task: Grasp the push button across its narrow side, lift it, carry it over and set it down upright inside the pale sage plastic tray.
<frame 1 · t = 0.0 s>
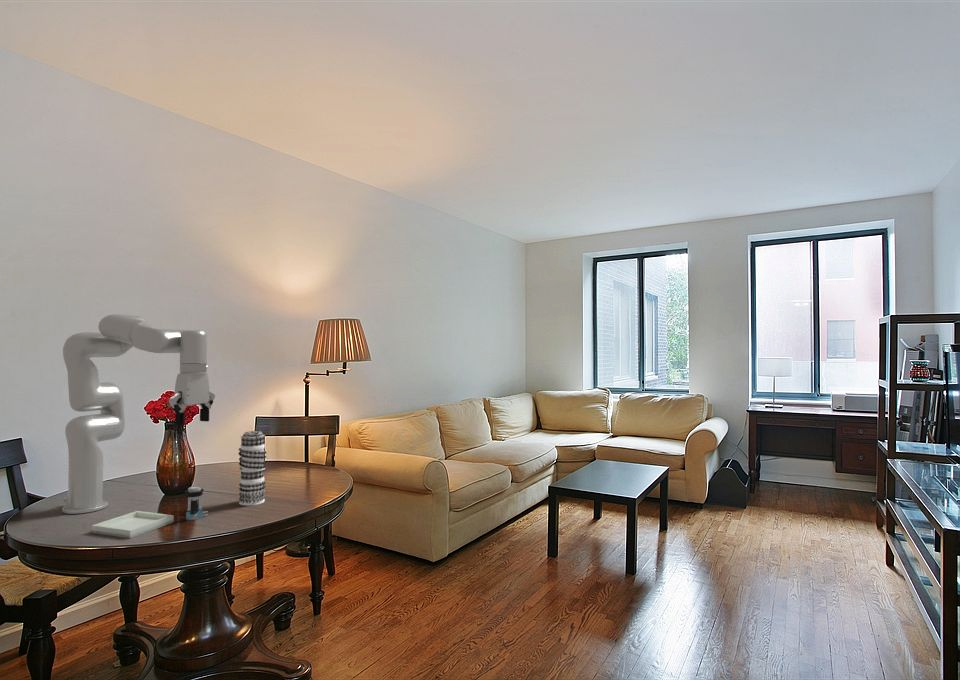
hand: (192, 423, 172), 31 cm above the table, fingers open, 9 cm apart
decorative candle: (251, 502, 193), on the table
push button: (196, 518, 175), on the table
tray: (133, 527, 166), on the table
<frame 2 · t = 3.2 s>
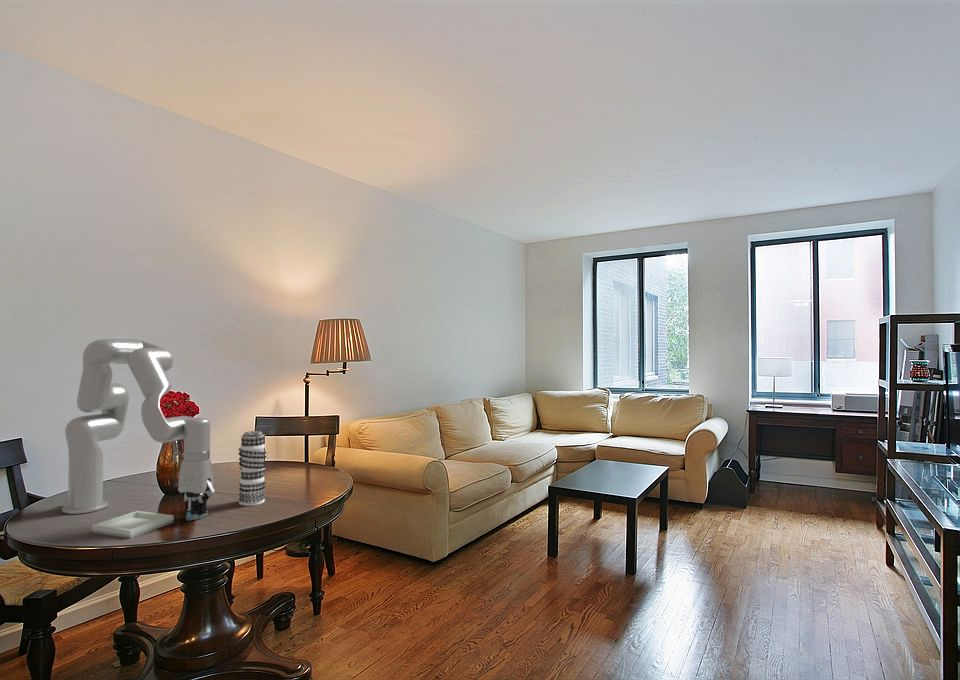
hand: (196, 512, 175), 2 cm above the table, fingers closed on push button, 3 cm apart
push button: (196, 518, 175), on the table, touching gripper
everything else where it was.
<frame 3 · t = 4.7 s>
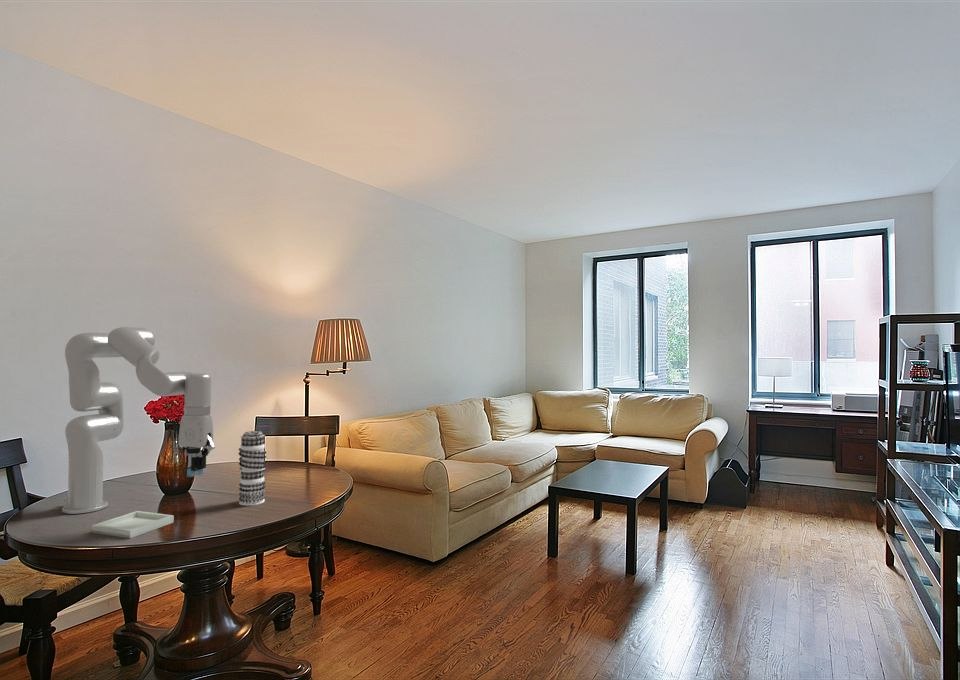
hand: (195, 467, 175), 16 cm above the table, fingers closed on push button, 3 cm apart
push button: (196, 475, 175), point 14 cm above the table, touching gripper
everything else where it was.
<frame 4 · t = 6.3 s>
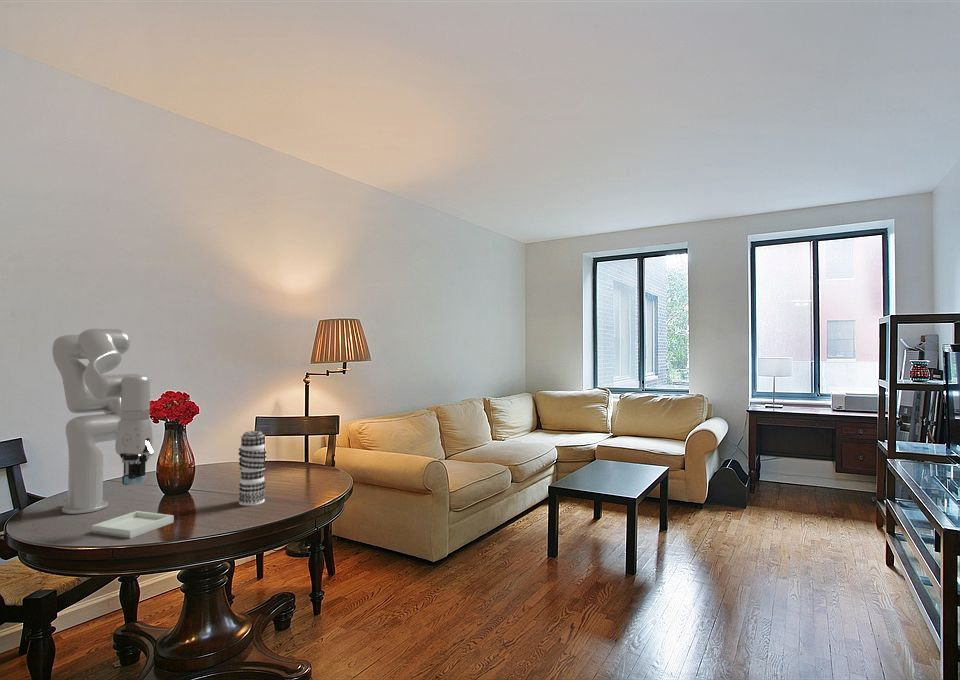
hand: (134, 475, 166), 16 cm above the table, fingers closed on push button, 3 cm apart
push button: (134, 483, 166), point 13 cm above the table, touching gripper
everything else where it was.
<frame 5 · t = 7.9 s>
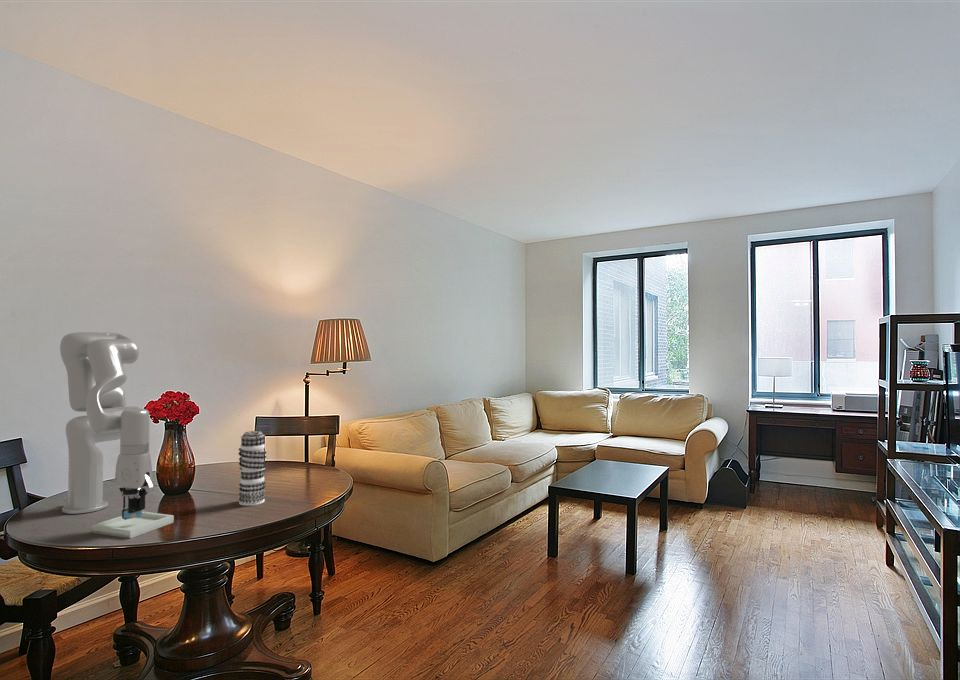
hand: (134, 509, 166), 6 cm above the table, fingers closed on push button, 3 cm apart
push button: (134, 517, 165), point 3 cm above the table, touching gripper
everything else where it was.
when the fingers open (4 cm above the table, at t = 9.0 s): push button stays where it is, resting on tray.
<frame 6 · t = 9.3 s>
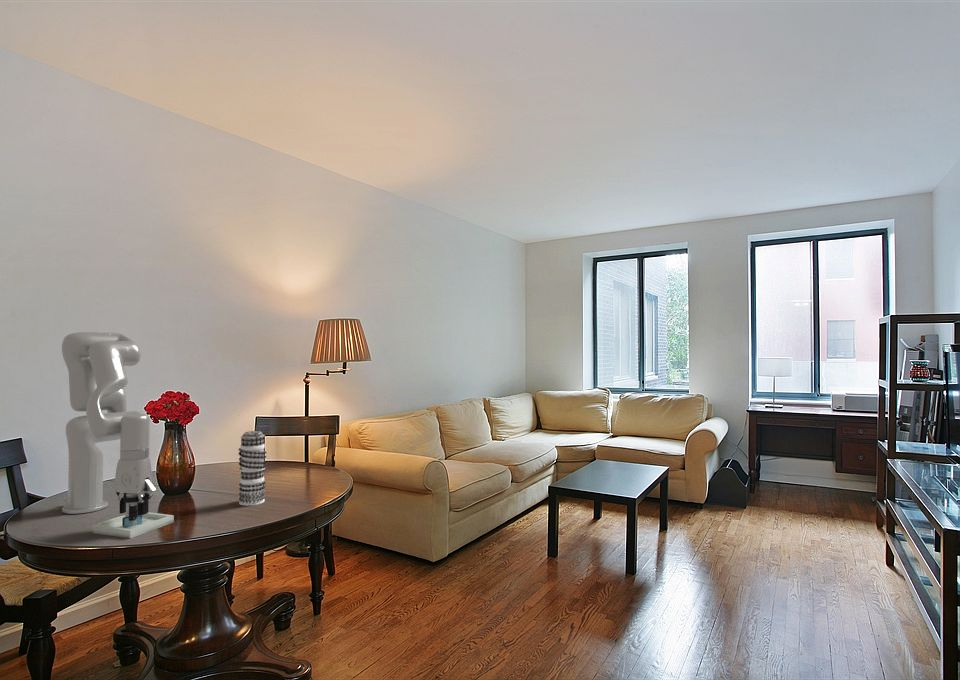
hand: (133, 512, 166), 4 cm above the table, fingers open, 6 cm apart
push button: (134, 525, 166), point 1 cm above the table, touching tray
everything else where it was.
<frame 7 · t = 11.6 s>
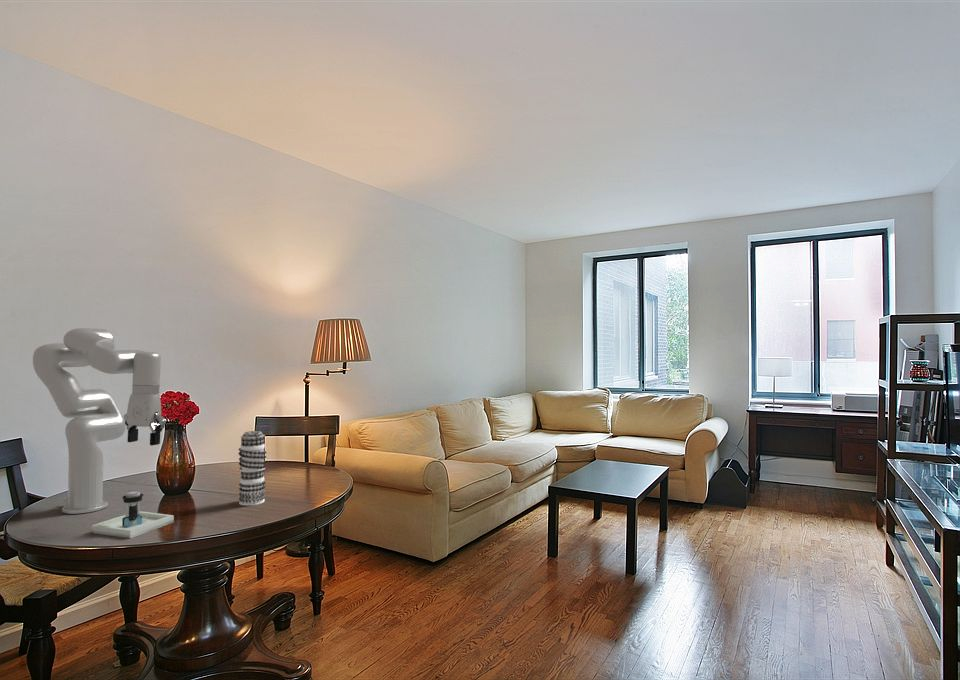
hand: (143, 443, 175), 24 cm above the table, fingers open, 9 cm apart
nothing on the table moved.
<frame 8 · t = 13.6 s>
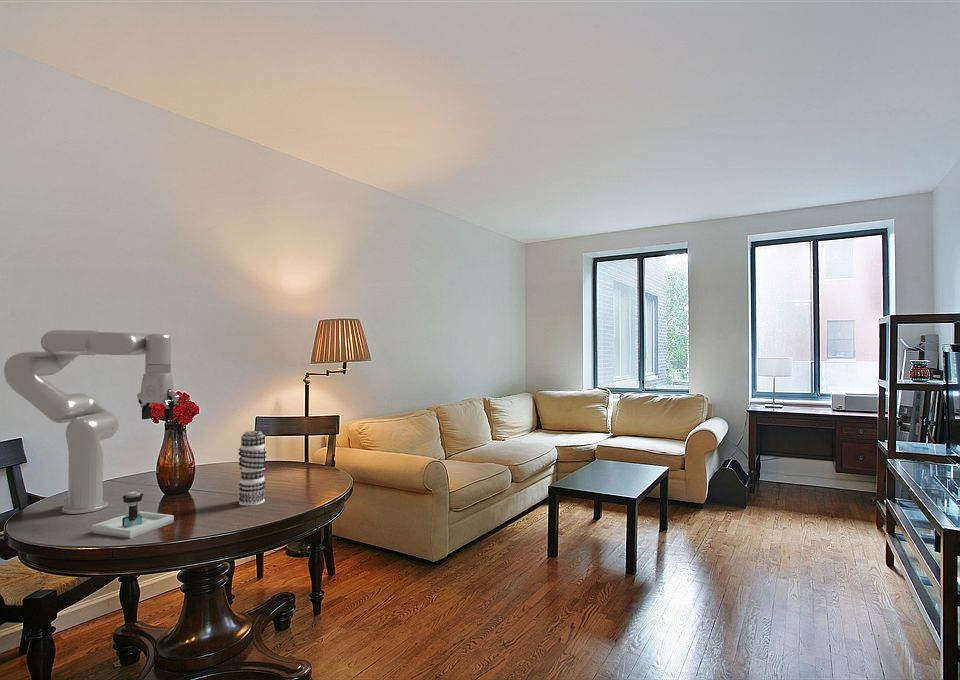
hand: (157, 419, 186), 30 cm above the table, fingers open, 9 cm apart
nothing on the table moved.
at the end: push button inside the target area on the tray (0.3 cm from its centre), point 0.6 cm above the tray's base; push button tilted 0°; the gripper is holding nothing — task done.
